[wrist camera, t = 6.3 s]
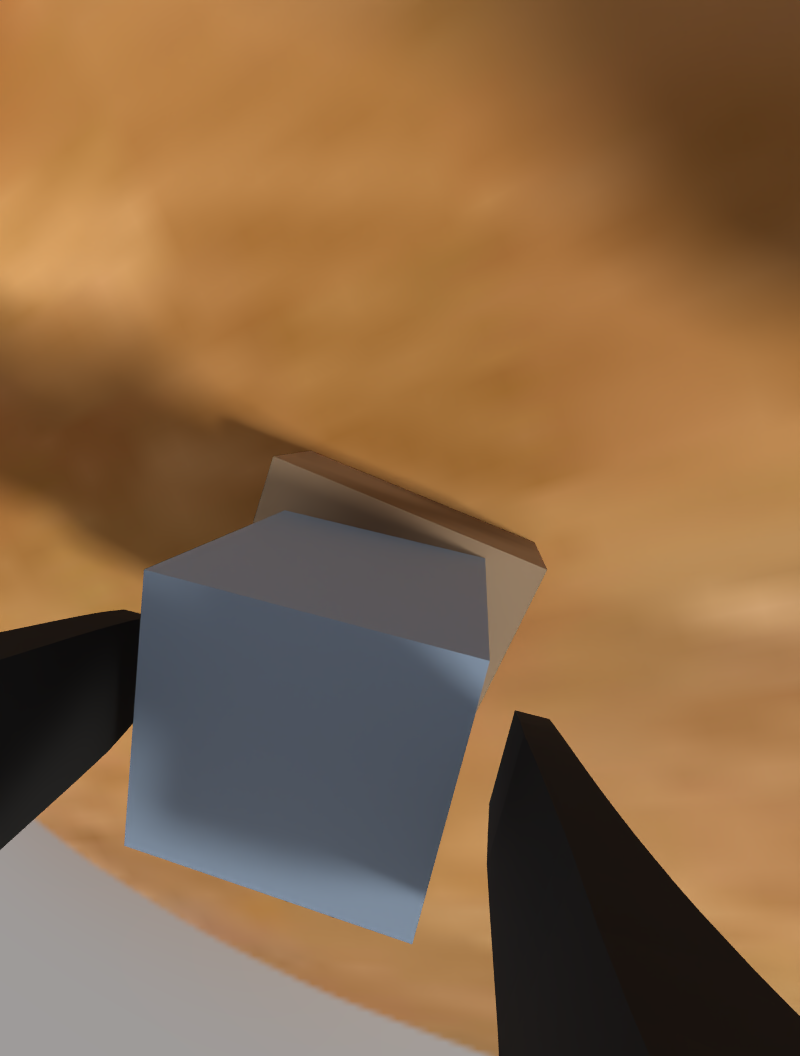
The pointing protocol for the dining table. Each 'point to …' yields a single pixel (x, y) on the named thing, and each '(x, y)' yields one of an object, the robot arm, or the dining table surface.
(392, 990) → the dining table surface
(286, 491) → the walnut block
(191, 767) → the blue cube
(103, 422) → the dining table surface
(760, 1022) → the robot arm
